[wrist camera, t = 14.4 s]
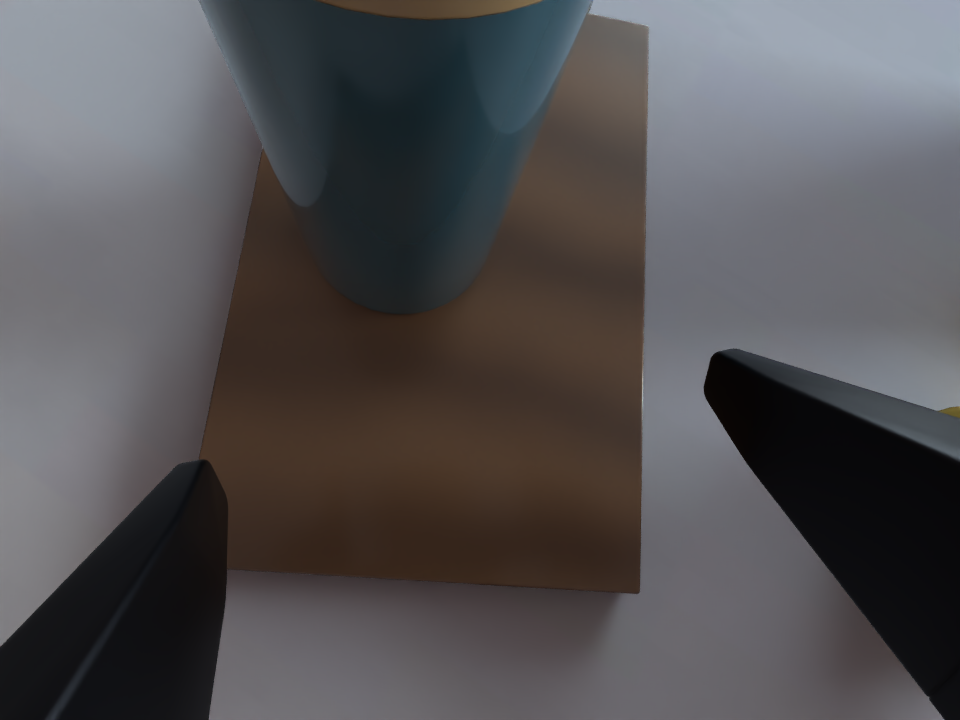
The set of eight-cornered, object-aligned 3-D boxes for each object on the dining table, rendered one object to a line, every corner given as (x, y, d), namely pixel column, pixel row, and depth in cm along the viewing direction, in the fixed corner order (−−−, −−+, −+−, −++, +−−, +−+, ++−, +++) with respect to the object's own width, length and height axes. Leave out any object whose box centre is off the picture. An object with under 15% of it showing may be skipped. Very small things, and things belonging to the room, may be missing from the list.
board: (625, 586, 17) (641, 594, 16) (192, 559, 15) (175, 566, 14) (636, 48, 22) (649, 25, 21) (307, -20, 20) (301, -50, 19)
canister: (434, 358, 17) (557, -53, 3) (256, 251, 16) (-330, -606, 3) (530, 203, 18) (857, -468, 5) (369, 104, 18) (283, -848, 5)
